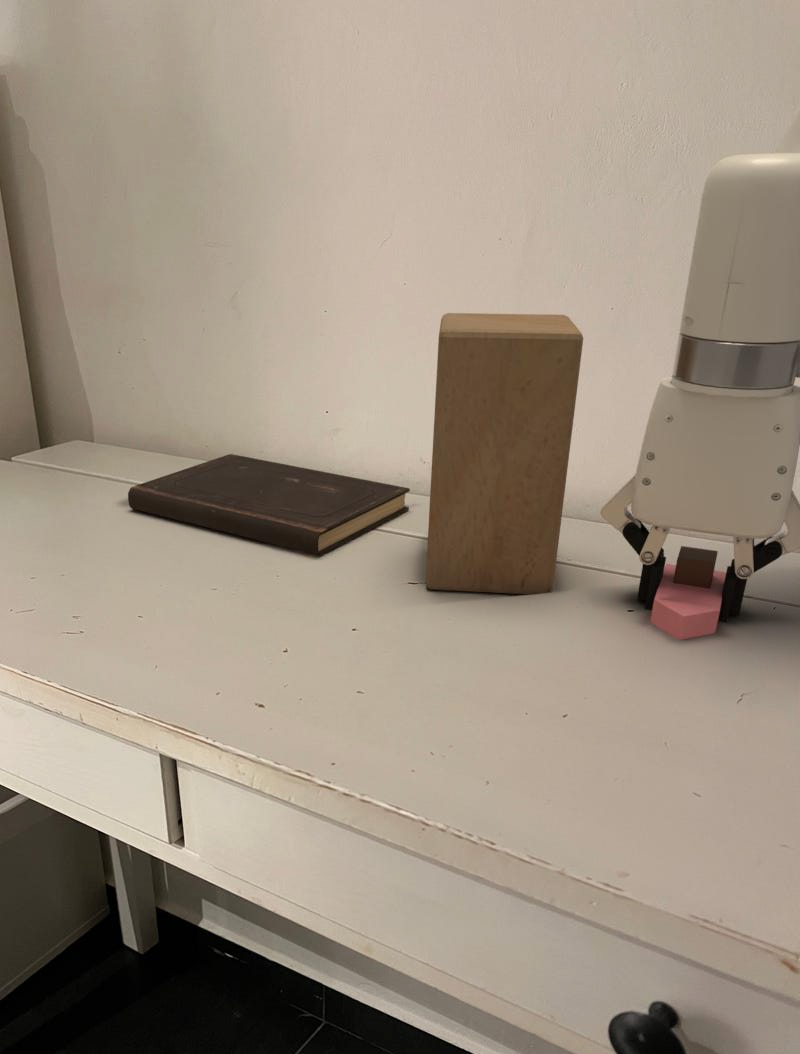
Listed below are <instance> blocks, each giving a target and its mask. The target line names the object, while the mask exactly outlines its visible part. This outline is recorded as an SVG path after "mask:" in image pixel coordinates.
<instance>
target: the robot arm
mask: <svg viewBox="0 0 800 1054" xmlns="http://www.w3.org/2000/svg"><path fill="white" fill-rule="evenodd" d="M796 378H799V379H800V104H798V106H797V109H796V111H795V112H794V114H793V117H792V118H791V120H790V122H789V124H788V126H787V128H786V130H785V132H784V134H783V136H782V138H781V140H780V143H779V144H778V146H777V148H776V151H775V152H773V153H772V152H771V153H766V152H765V153H744V154H743V153H742V154H736V155H730V156H727V157H725V158H722V159H720V160H719V161H717V162H716V163H715V164H714V165H713V166H712V167H711V168H710V170H709V172H708V174H707V176H706V178H705V181H704V185H703V190H702V195H701V199H700V206H699V211H698V217H697V225H696V230H695V236H694V242H693V247H692V253H691V260H690V267H689V271H688V278H687V284H686V289H685V295H684V302H683V308H682V314H681V320H680V327H679V332H678V337H677V343H676V350H675V356H674V361H673V368H672V375H671V376H666V377H662V378H661V380H660V383H659V385H658V387H657V390H656V392H655V396H654V398H653V402H652V406H651V409H650V410H649V411H650V412H649V416H648V420H647V424H646V427H645V431H644V435H643V439H642V443H641V448H640V453H639V456H638V462H637V466H636V471H635V473H634V474H633V475H632V476H631V477H630V478H629V479H628V480H627V481H626V482H625V483H624V484H623V485H622V486H621V487H620V488H619V489H618V490H617V491H616V492H615V493H614V494H613V495H612V496H611V497H610V498H609V499H608V500H607V501H606V502H605V503H604V505H603V506H602V508H601V510H600V515H601V517H602V518H603V519H604V520H605V521H606V522H607V523H609V524H610V525H611V526H612V527H613V528H614V529H615V530H616V531H618V532H620V533H621V534H622V536H623V538H624V539H625V540H626V542H627V543H628V544H629V546H631V548H632V549H633V551H634V552H635V553H636V554H637V555H638V556H639V557H638V558H639V561H640V562H641V564H642V568H641V573H640V574H641V575H640V580H639V585H638V592H637V596H636V597H637V600H642V601H645V605H644V610H648V611H652V609H653V603H654V598H655V595H656V592H657V589H658V588H659V585H660V582H661V579H662V576H663V572H664V568H665V565H666V561H667V557H666V556H664V555H665V553H664V552H665V549H664V548H663V546H664V545H665V542H666V539H667V537H668V535H669V532H670V530H671V529H673V530H680V531H687V532H696V533H701V534H702V533H704V534H709V535H710V534H711V535H719V536H725V537H726V536H728V537H732V540H733V541H732V542H733V558H732V559H731V563H730V565H727V567H726V571H725V572H726V576H725V581H724V586H723V592H722V602H721V608H720V613H719V618H718V622H720V623H725V624H727V623H728V620H729V616H730V615H733V616H740V614H741V613H740V612H741V610H742V609H741V608H742V604H743V601H744V596H745V590H746V586H747V581H748V579H750V578H752V576H753V575H754V574H755V573H757V571H759V570H762V569H763V568H764V567H767V566H768V565H769V564H771V563H773V562H774V561H776V560H778V559H780V557H782V556H783V555H786V554H790V553H793V552H795V551H797V550H800V502H799V500H798V498H797V496H796V494H795V492H794V490H793V485H794V480H795V476H796V471H797V464H798V458H799V453H800V386H799V385H795V382H796ZM629 506H630V509H631V510H630V511H631V512H630V511H629V510H628V507H629ZM643 523H644V524H646V525H649V526H651V527H650V529H649V530H648V529H647V527H646V526H645V525H644V524H643ZM784 525H785V526H786V530H785V531H783V532H780V531H781V530H782V528H783V526H784ZM779 532H780V533H779ZM756 539H757V540H759V539H763V541H760V542H759V543H757V544H756V545H755V540H756Z"/></svg>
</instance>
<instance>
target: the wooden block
mask: <svg viewBox="0 0 800 1054" xmlns="http://www.w3.org/2000/svg"><path fill="white" fill-rule="evenodd" d="M437 345H438V346H437V362H436V363H437V364H436V378H435V379H436V380H435V397H434V398H435V401H434V419H433V435H432V436H433V437H432V453H431V471H430V491H429V493H430V494H429V509H428V510H429V511H428V513H429V514H428V528H427V529H428V531H427V549H426V551H427V552H426V565H425V566H426V567H425V581H424V582H425V585H426V588H427V589H430V590H437V591H439V590H440V591H457V592H458V591H459V592H474V593H475V592H476V593H477V592H480V593H496V594H497V593H498V594H515V595H516V594H518V595H541V594H551V593H552V592H553V591H554V583H555V575H556V566H557V557H558V551H559V542H560V533H561V526H562V517H563V510H564V501H565V492H566V484H567V478H568V477H567V475H568V469H569V468H568V467H569V460H570V451H571V444H572V443H571V442H572V434H573V428H574V419H575V411H576V402H577V393H578V386H579V379H580V377H579V376H580V370H581V369H580V368H581V362H582V361H581V360H582V352H583V345H584V335H583V333H582V332H581V331H580V329H579V328H578V327H577V325H576V324H575V323H574V322H573V321H572V319H571V318H570V317H569V316H567V315H566V314H541V313H540V314H538V313H535V314H534V313H531V314H530V313H472V312H471V313H468V312H466V313H465V312H460V313H459V312H447V313H445V314H442V316H441V319H440V323H439V331H438V343H437Z"/></svg>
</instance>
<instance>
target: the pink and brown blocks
mask: <svg viewBox="0 0 800 1054" xmlns="http://www.w3.org/2000/svg"><path fill="white" fill-rule="evenodd" d="M718 552H719V551H718V550H713V549H706V548H699V547H693V546H685V545H681V546H680V549H679V552H678V555H677V559H676V563H675V564H672V563H665V567H664V572H663V576H662V579H661V582H660V585H659V588H658V589H657V592H656V595H655V598H654V603H653V609H652V610H651V615H650V621H649V622H650V623H651V624H652V625H654V626H655V627H657V628H659V629H660V630H662V631H664V632H665V633H667V634H669V635H670V636H671V637H674V638H675V639H676V640H678V641H681V640H687V639H692V638H697V637H703V636H708V635H714V634H716V632H717V626H718V622H719V621H718V618H719V613H720V608H721V602H722V592H723V586H724V581H725V576H726V572H727V571H718V570H715V568H716V562H717V557H718V554H719V553H718Z"/></svg>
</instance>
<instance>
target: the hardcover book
mask: <svg viewBox="0 0 800 1054" xmlns="http://www.w3.org/2000/svg"><path fill="white" fill-rule="evenodd" d="M410 491H411V490H410V488H409V487H405V486H399V485H394V484H389V483H383V482H378V481H373V480H368V479H365V478H364V479H363V478H358V477H353V476H347V475H344V474H343V475H342V474H338V473H333V472H327V471H321V470H317V469H312V468H306V467H300V466H295V465H291V464H285V463H280V462H275V461H269V460H264V459H259V458H253V457H248V456H244V455H238V454H234V453H229V454H226V455H223V456H219V457H217V458H214V459H211V460H208V461H205V462H201V463H199V464H196V465H193V466H190V467H187V468H185V469H181V470H178V471H175V472H172V473H169V474H167V475H163V476H160V477H158V478H155V479H152V480H149V481H145V482H143V483H140V484H136V485H133V486H131V487H130V488H129V490H128V493H127V500H128V506H129V507H130V509H132V510H134V511H139V512H143V513H148V514H151V515H154V516H159V517H162V518H166V519H171V520H175V521H179V522H183V523H187V524H191V525H195V526H200V527H203V528H207V529H211V530H214V531H219V532H222V533H226V534H231V535H235V536H239V537H243V538H247V539H250V540H255V541H259V542H263V543H266V544H271V545H275V546H277V547H278V546H279V547H282V548H286V549H291V550H295V551H298V552H303V553H307V554H311V555H315V556H319V557H321V556H324V555H326V554H327V553H329V552H331V551H333V550H335V549H337V548H339V547H341V546H342V545H345V544H347V543H348V542H350V541H353V540H354V539H357V538H358V537H360V536H362V535H363V534H365V533H368V532H370V531H372V530H374V529H375V528H377V527H379V526H381V525H382V524H384V523H387V522H388V521H390V520H393V519H394V518H396V517H398V516H400V515H402V514H405V513H406V512H408V511H410V507H409V506H405V505H406V502H405V501H406V500H405V499H406V494H408V493H409V492H410Z"/></svg>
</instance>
